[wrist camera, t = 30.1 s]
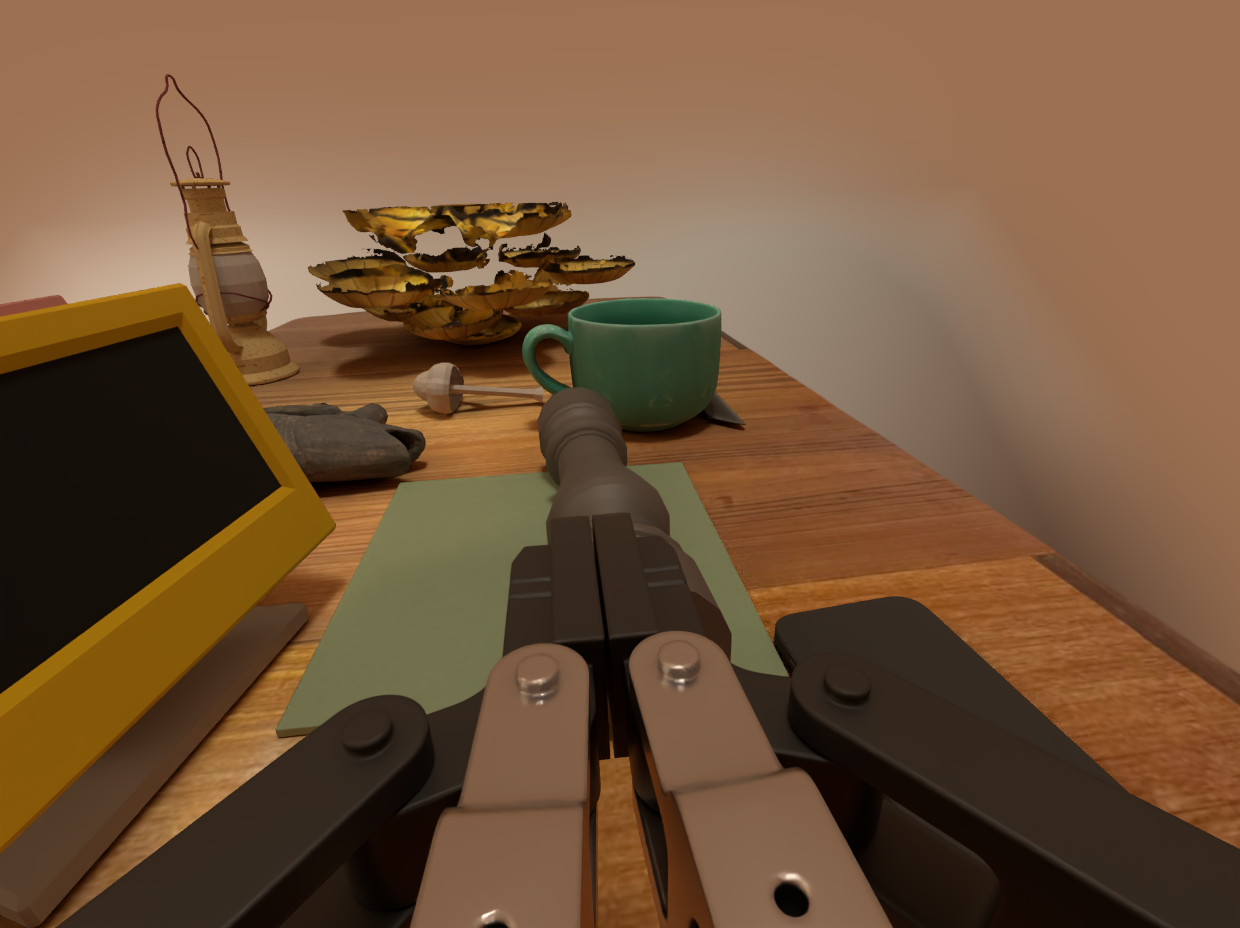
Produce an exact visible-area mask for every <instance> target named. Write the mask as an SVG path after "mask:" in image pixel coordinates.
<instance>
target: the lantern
mask: <svg viewBox="0 0 1240 928" xmlns="http://www.w3.org/2000/svg"><path fill="white" fill-rule="evenodd" d="M168 77H171V79H172V80H173V82H174V85H175V87H176V89H177V91H178V92H179V93H180V94H181V96H182V97H183V98H184V99H185V100H186V101H187V102H188V103H190V104H191V105H192V106H193V107H194V108H195V109H196V110H197V112H198V113H199V114H200V115H201V116H202V118H203V119H204V121H205V123H206V125H207V127H208V129H209V132H210V135H211V137H212V141H213V144H214V148H215V151H216V155H217V159H218V165H219V172H220V180H219V179H204V177H203V173H202V168H201V164H200V160H199V157H198V156H197V154H196V152H195V150H194V149H193V148H192V147H191V146H188V147H187V152H186V155H187V160H188V163H189V166H190V168H191V172H192V174H193V176H194V178H200V179H185V180H178V177H177V174H176V172H175V169H174V167H173V165H172V162H171V159H170V157H169V154H168V151H167V148H166V144H165V140H164V137H163V133H162V128H161V123H160V119H159V114H158V107H159V103H160V101H161V98H162V97H163V96H164V95H165V94H166V92H167V91H168V86H169V85H168ZM165 81H166V88H165V91H164V92H163V93H162V94H161V95H160V97H159V99H158V100H157V104H156V117H157V122H158V126H159V131H160V135H161V139H162V143H163V146H164V150H165V153H166V156H167V158H168V160H169V163H170V166H171V168H172V170H173V173H174V175H175V179H176V182H172V183H170V185H171V186H178V188H179V191H180V194H181V197H182V200H183V204H184V211H185V213H184V216H185V219H186V223H187V228H186V231H187V234H188V237H189V239H188V241H187V243H186V244H192V245H193V247H191V248H190V253H189V255H190V261H189V266H188V268H189V274H190V281H191V286H192V288H193V290H194V293H195V295H196V300H195V301H196V302H197V304H198V306H200V307H203V309H204V313H205V314H206V315H208V316H209V320H210V324H211V326H212V328H213V330H214V331H215V333H216V334H217V336H218V337H219V339H220V341H221V342H222V344H223V345H224V347H225V349H226V350H227V352H228V353H229V355H230V357H231V358H232V360H233V361H234V363H235V365H236V366H237V368H238V369H239V371H240V372H241V374H242V376H243V377H244V379H245V380H246V382H247V384H248V385H258V384H265V383H270V382H274V381H277V380H281V379H284V378H288V377H290V376H293V375H295V374H296V373H297V372H298V370H299V366H298V365H297V364H295V363H294V362H292V361H290V358H289V354H288V350H287V347H286V346H285V345H284V344H283V343H282V342H281V341H280V340H279V339H278V338H277V337H276V336H274V335H272V334H271V333H269V332H268V331H266V330H267V319H266V314H267V311H266V310H267V309H268V307H269V304H270V302H271V301H272V295H271V292H270V291H269V290H268V288H267V282H266V278H265V275H264V273H263V270H262V268H261V266H260V263H259V261H258V260H257V259H256V257H255V256H254V255H253V254H252V252H251V251H252V250H251V249H250V247H249V245H247V244H245V243H242V242H241V241H248V240H247V239H246V238H245V237H244V236H243V234H242V230H241V227H240V226H239V225H238V224H237V221H236V217H235V213H234V211H230V209H229V206H228V202H227V199H226V194H225V190H224V186H223V185H230V182H228V181H223V179H222V170H221V164H220V159H219V154H218V150H217V147H216V144H215V141H214V138H213V135H212V132H211V129H210V127H209V124H208V122H207V120H206V119H205V117H204V116H203V115H202V113H201V112H200V111H199V110H198V109H197V107H195V106H194V105H193V104H192V103H191V102H190V101H189V100H188V99H187V98H186V97H185V96H184V95H183V94H182V92H181V91H180V90H179V88H178V86H177V84H176V81H175V79H174V78H173V77H172V76H171V75H168V74H167V75H166V76H165ZM189 148H191V149H192V151H193V152H194V153H195V155H196V157H197V160H198V163H199V167H200V171H201V176H202V177H200V175H199V173H197V172H196V175H197V177H196V176H195V174H194V171H193V169H192V166H191V163H190V160H189V156H188V152H189ZM220 185H221V186H222V188H221V187H220ZM180 186H181V187H180ZM184 186H192V189H185V187H184ZM195 186H207V187H208V188H202V189H201V188H200V189H196V187H195ZM211 186H217V188H211ZM185 199H186V200H187V201H188V204H189V208H190V211H191V213H187V207H186V202H185ZM224 199H225V203H226V206H227V209H228V211H227V210H226V206H225V203H224ZM268 293H269V294H270V300H269V302H268V298H269V294H268ZM198 302H199V303H198ZM227 324H229V325H227Z"/></svg>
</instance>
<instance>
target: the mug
mask: <svg viewBox="0 0 1240 928" xmlns="http://www.w3.org/2000/svg"><path fill="white" fill-rule="evenodd" d="M545 338H552V339H555V340H558V341H559V342H561V343H562V345H563V347H564V350H565V352H566V353H567V354H569V355H570V366H571V375H572V382H573V388H576V387H584V388H587V389H590V390H593V391H596V392H598V393H599V394H600V395H601V396H603V397H604V398H605V399H606V400H607V401H608V402H609V404H610V406H611V408H612V410H613V412H614V414H615V416H616V418H617V420H618V422H619V424H620V426H621V428H622V429H624V430H629V431H638V432H650V431H660V430H665V429H669V428H672V427H675V426H677V425H679V424H681V423H682V422H684V421H686V420H689V419H691V418H693V417H694V416H696V415H697V414H699V413H700V412H701V411H703V410H704V409H705V408H706V406H707V405H708V404H709V403H710V401H711V399H712V397H713V395H714V393H715V390H716V386H717V381H718V373H719V361H720V345H721V311H720V309H718V308H716V307H715V306H712V305H709V304H705V303H701V302H694V301H686V300H676V299H652V298H649V299H645V298H642V299H620V300H610V301H602V302H596V303H591V304H586V305H583V306H579V307H576V308H574V309H572V310H571V311H570V312H569V313H568V331H565V330H564V329H562V328H560V327H558V326H555V325H550V324H545V325H539V326H537V327H535V328H533V329H532V330H530V331H529V332H528V334H527V335H526V337H525V339H524V342H523V346H522V355H523V359H524V363H525V365H526V367H527V368H528V370H529V372H530V373H531V375H532V376H533V377H534V379H535V380H536V381H537V382H538V383H539V384H540V386H541V387H542V388H544V389H545V390H546V391H548V392H550V393H551V394H553V395H554V394H556V393H558V392H560V391H562V390H564V389H566V388H571V387H569V386H567V385H564V384H562V383H560V382H558V381H556V380H555V379H553V378H552V377H550V376H549V375H548V374H546V373H545V372H544V371H543V370H542V369H541V368H540V367H539V365H538V363H537V361H536V357H535V348H536V346H537V344H538V343H539V342H540V341H541V340H543V339H545Z"/></svg>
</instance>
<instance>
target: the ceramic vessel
mask: <svg viewBox="0 0 1240 928" xmlns="http://www.w3.org/2000/svg"><path fill="white" fill-rule="evenodd" d="M263 409H264V411H265V412H266V414H267V415H268V417H269V419H270V420H271V422H272V423H273V425H274V427H275V428H276V430H277V431H278V433H279V435H280V436H281V438H282V439H283V441H284V442H285V444H286V446H287V447H288V449H289V450H290V452H291V454H292V455H293V457H294V458H295V460H296V462H297V463H298V465H299V466H300V468H301V470H302V471H303V473H304V474H305V476H306V477H307V479H308V481H309V482H338V481H350V480H361V479H373V478H390V477H396V476H400V475H402V474H404V473H405V472H406V471H407V470H408V469H409V468H410V466H411V463H412V462H414V461H415V460H416V459H417V458H418V457H419V456H420V454H421V453H422V451H423V450H424V449H425V445H426V443H425V438H424V436H423V434H422V432H420V431H418V430H413V429H405V428H401V427H397V426H392V425H386V424H385V423H386V421H387V418H388V415H387V412H386V410H385V409H384V408H383V407H382V406H380V405H378V404H375V403H371V404H369V405H366V406H364V407H362V408H359V409H357V410H355V411H351V412H348V411H341V410H340V409H339V408H338V407H337V406H331V405H328V404H326V403H319V404H313V405H286V406H276V407H268V408H263Z"/></svg>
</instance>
